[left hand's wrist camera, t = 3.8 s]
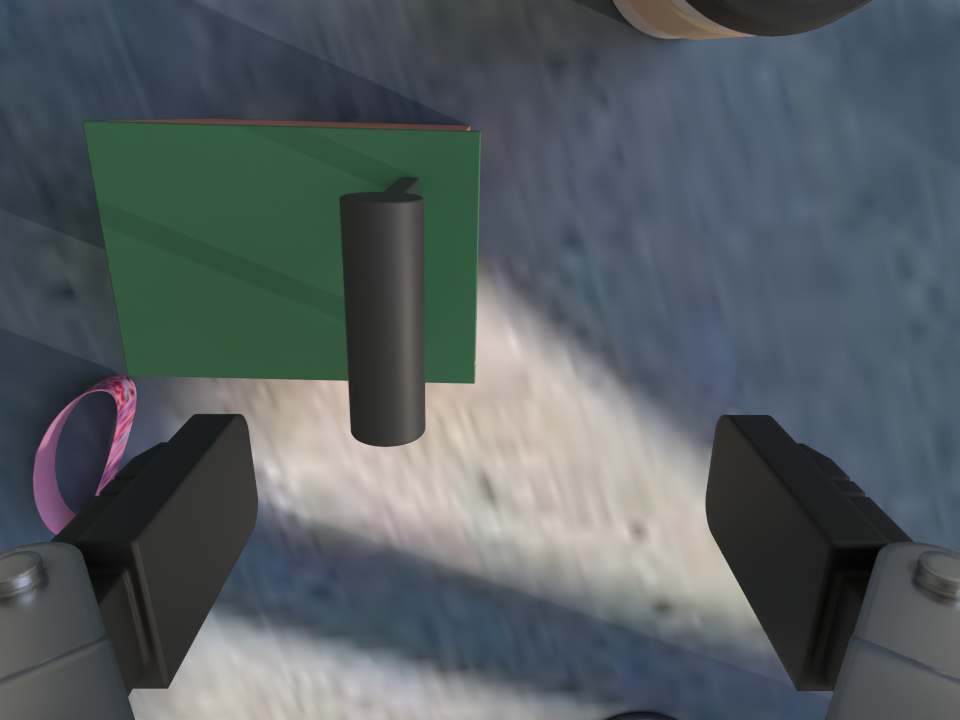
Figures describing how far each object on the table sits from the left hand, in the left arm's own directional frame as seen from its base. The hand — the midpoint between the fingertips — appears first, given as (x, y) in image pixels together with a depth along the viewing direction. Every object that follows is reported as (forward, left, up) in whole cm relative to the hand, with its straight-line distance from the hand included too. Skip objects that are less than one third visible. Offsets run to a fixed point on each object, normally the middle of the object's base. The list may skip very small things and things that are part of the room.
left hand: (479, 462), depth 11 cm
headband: (-27, +7, -26) cm, 38 cm away
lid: (-5, +5, -16) cm, 17 cm away
